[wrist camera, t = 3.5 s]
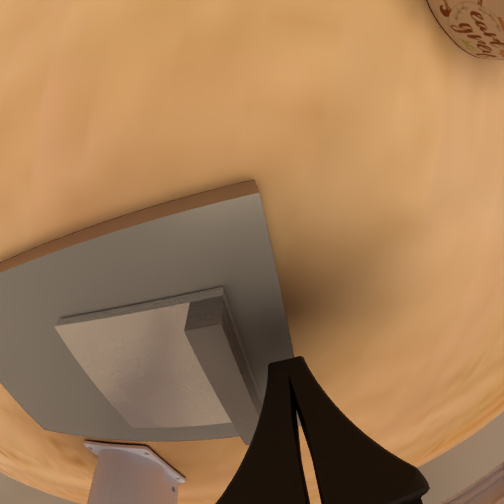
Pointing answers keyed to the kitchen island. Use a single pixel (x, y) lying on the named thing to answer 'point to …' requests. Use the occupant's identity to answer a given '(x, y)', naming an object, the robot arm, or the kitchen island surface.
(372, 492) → the robot arm
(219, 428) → the socket
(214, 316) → the block
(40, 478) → the kitchen island surface
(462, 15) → the mug
